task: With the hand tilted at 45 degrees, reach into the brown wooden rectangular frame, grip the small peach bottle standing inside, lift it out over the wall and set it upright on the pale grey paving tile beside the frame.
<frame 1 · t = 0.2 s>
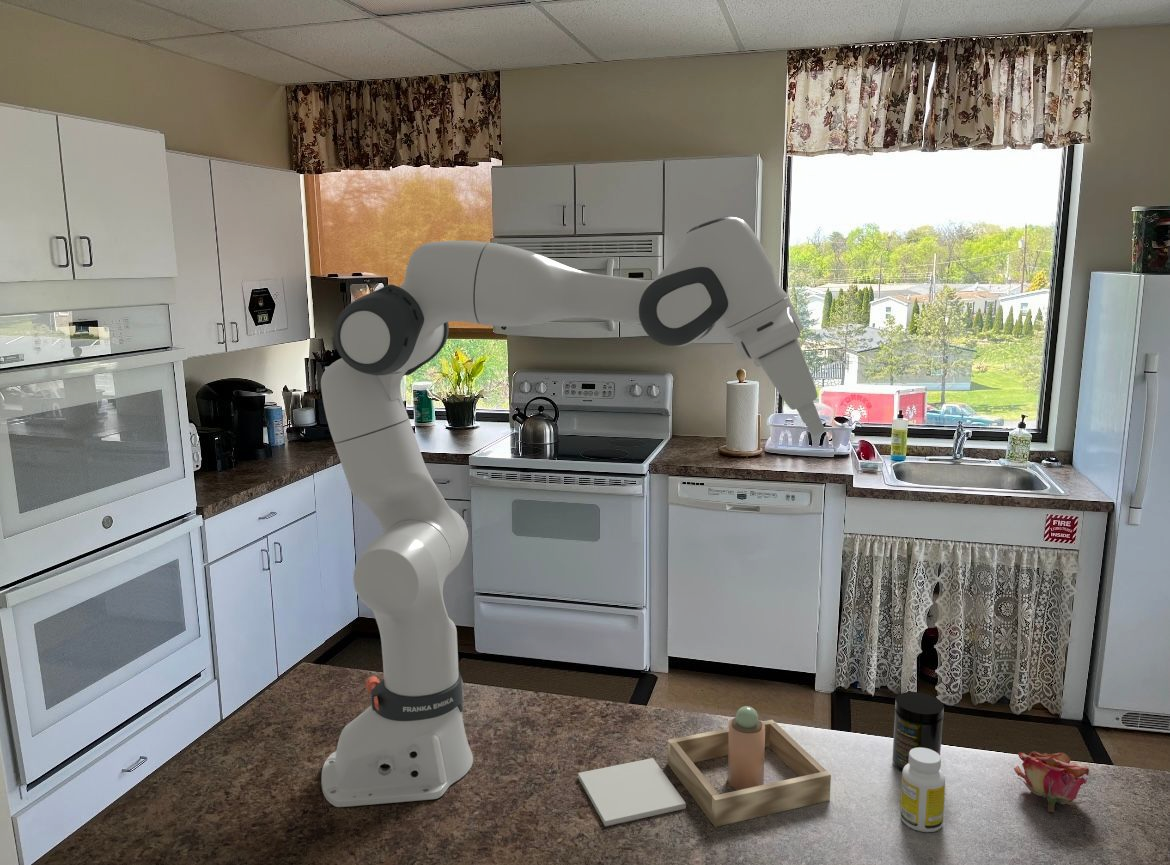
hand: (814, 427, 111), 54 cm above the countertop, tool tilted 30°, fingers open, 8 cm apart
flower: (1048, 801, 120), on the countertop
peach bottle: (746, 744, 124), in the brown wooden rectangular frame
brown wooden rectangular frame: (745, 781, 125), on the countertop
paving tile: (630, 792, 123), on the countertop
supplement container: (915, 767, 129), on the countertop
supplement bottle: (920, 822, 116), on the countertop
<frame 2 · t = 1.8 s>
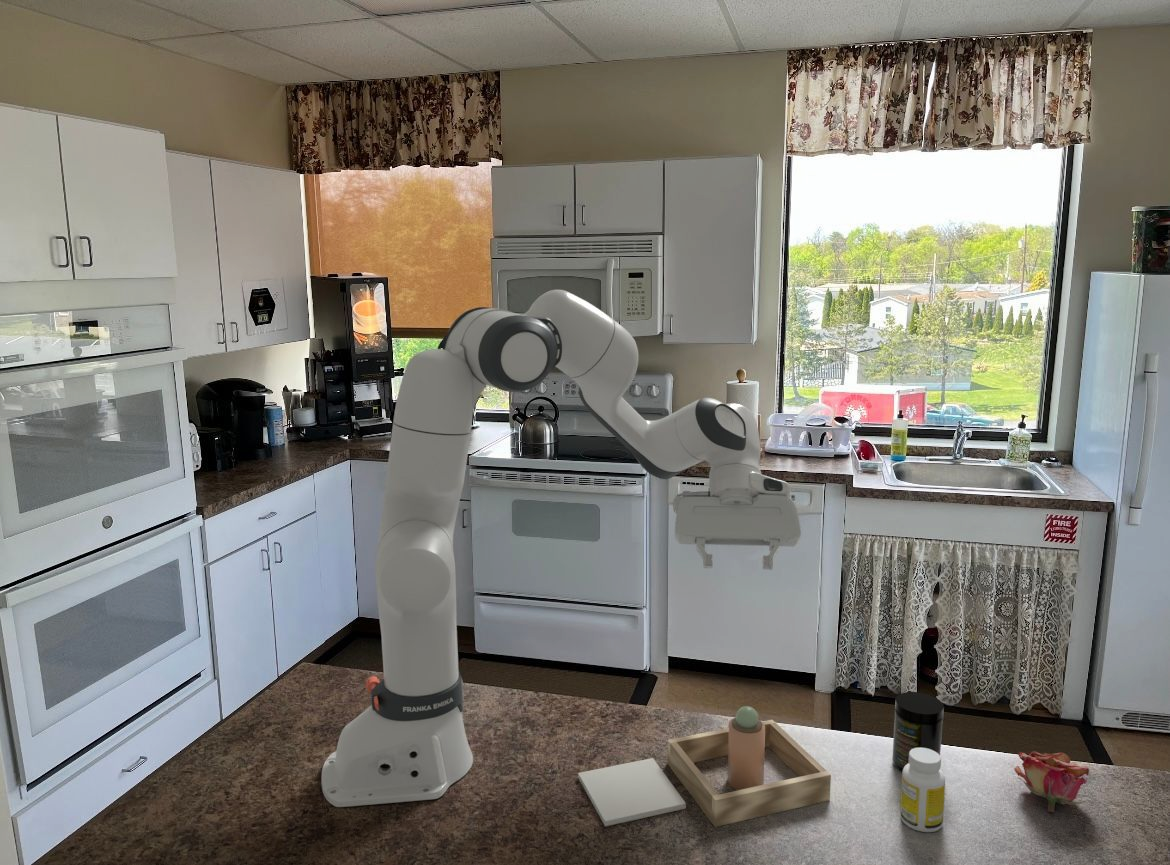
hand: (737, 567, 135), 28 cm above the countertop, tool tilted 45°, fingers open, 8 cm apart
nothing on the countertop moved.
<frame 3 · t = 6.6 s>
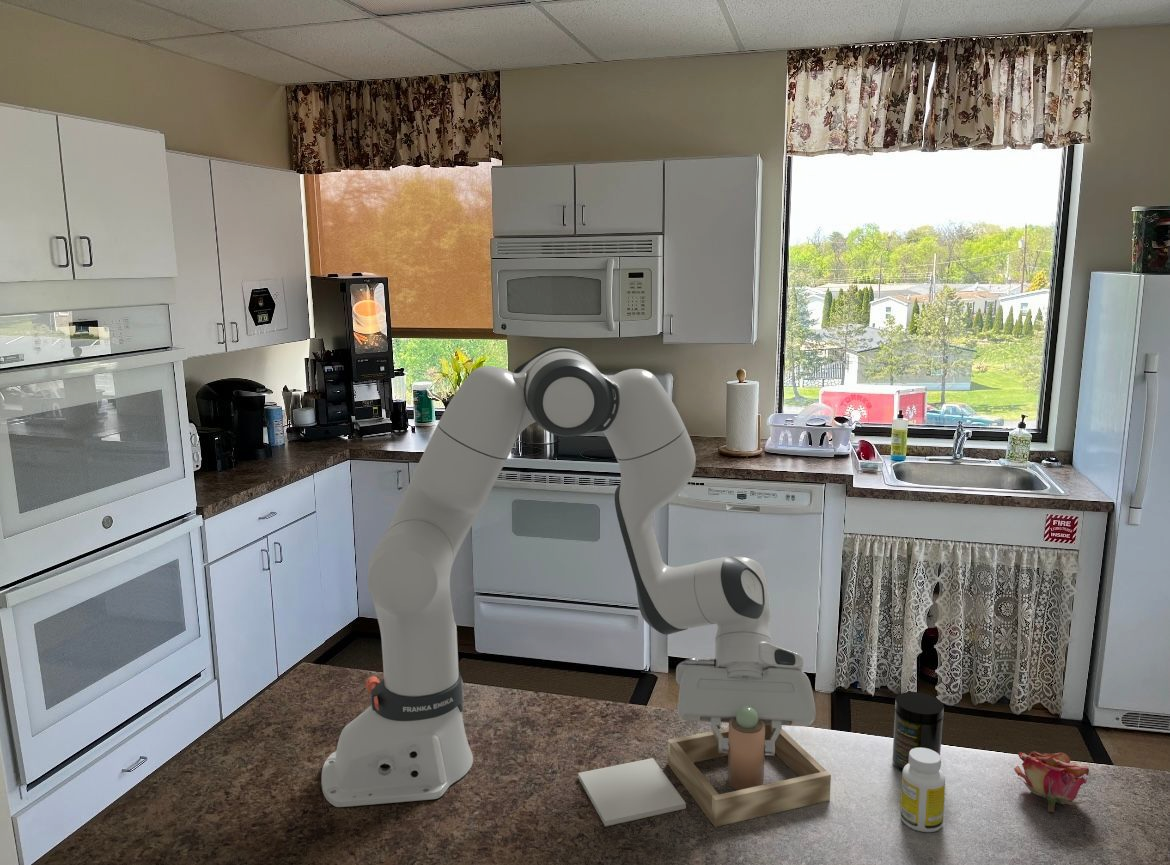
hand: (746, 753, 124), 5 cm above the countertop, tool tilted 45°, fingers closed on peach bottle, 5 cm apart
peach bottle: (746, 744, 124), in the brown wooden rectangular frame, touching gripper
everything else where it was.
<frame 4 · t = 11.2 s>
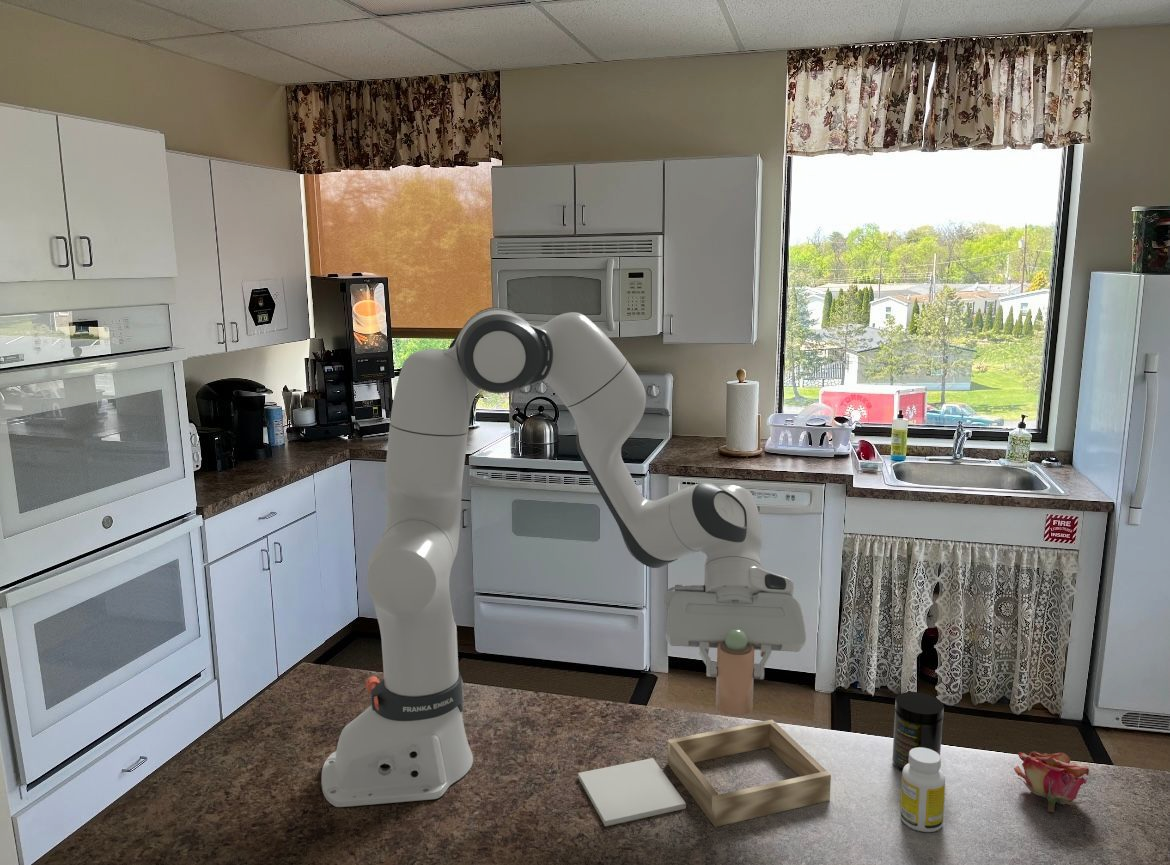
hand: (735, 676, 121), 17 cm above the countertop, tool tilted 45°, fingers closed on peach bottle, 5 cm apart
peach bottle: (735, 668, 122), point 18 cm above the countertop, touching gripper
everything else where it was.
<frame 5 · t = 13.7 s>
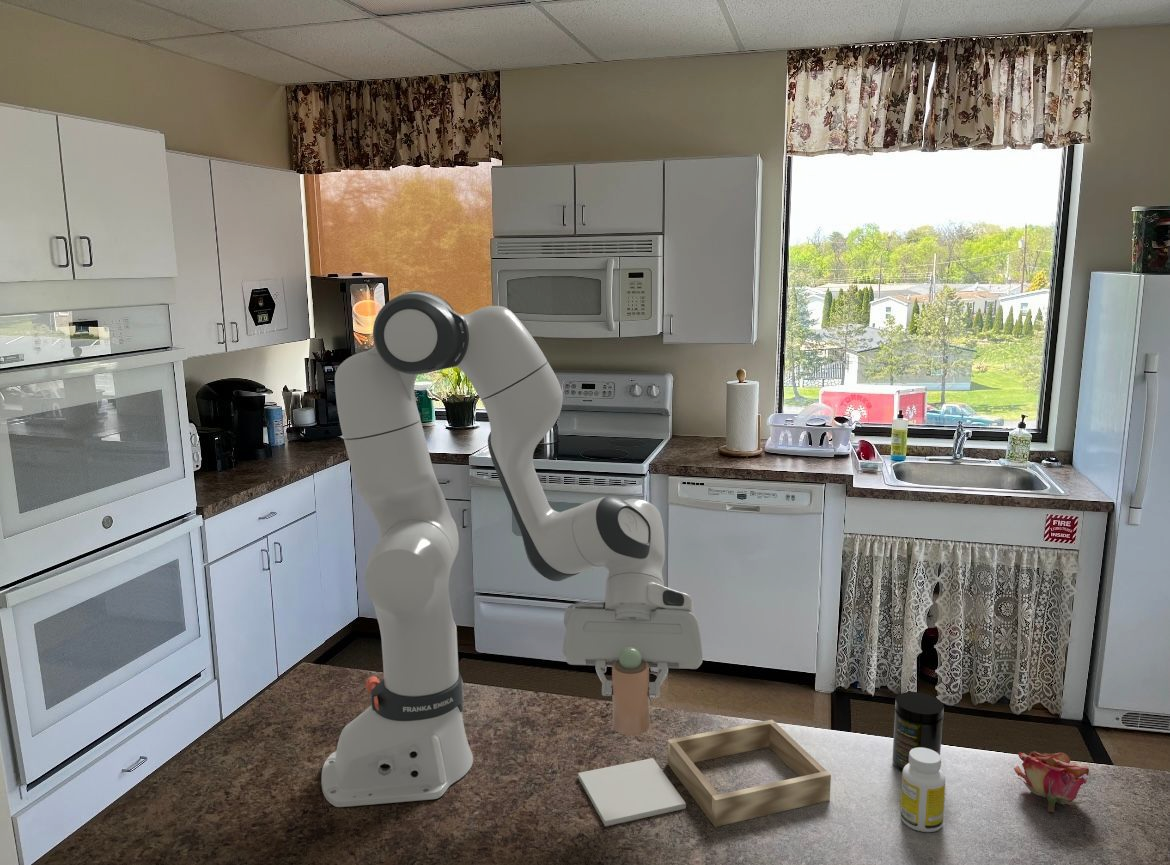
hand: (630, 695, 120), 15 cm above the countertop, tool tilted 45°, fingers closed on peach bottle, 5 cm apart
peach bottle: (630, 687, 120), point 16 cm above the countertop, touching gripper
everything else where it was.
when the fingers open (7 cm above the countertop, at t = 15.9 s): peach bottle drops 1 cm, resting on paving tile.
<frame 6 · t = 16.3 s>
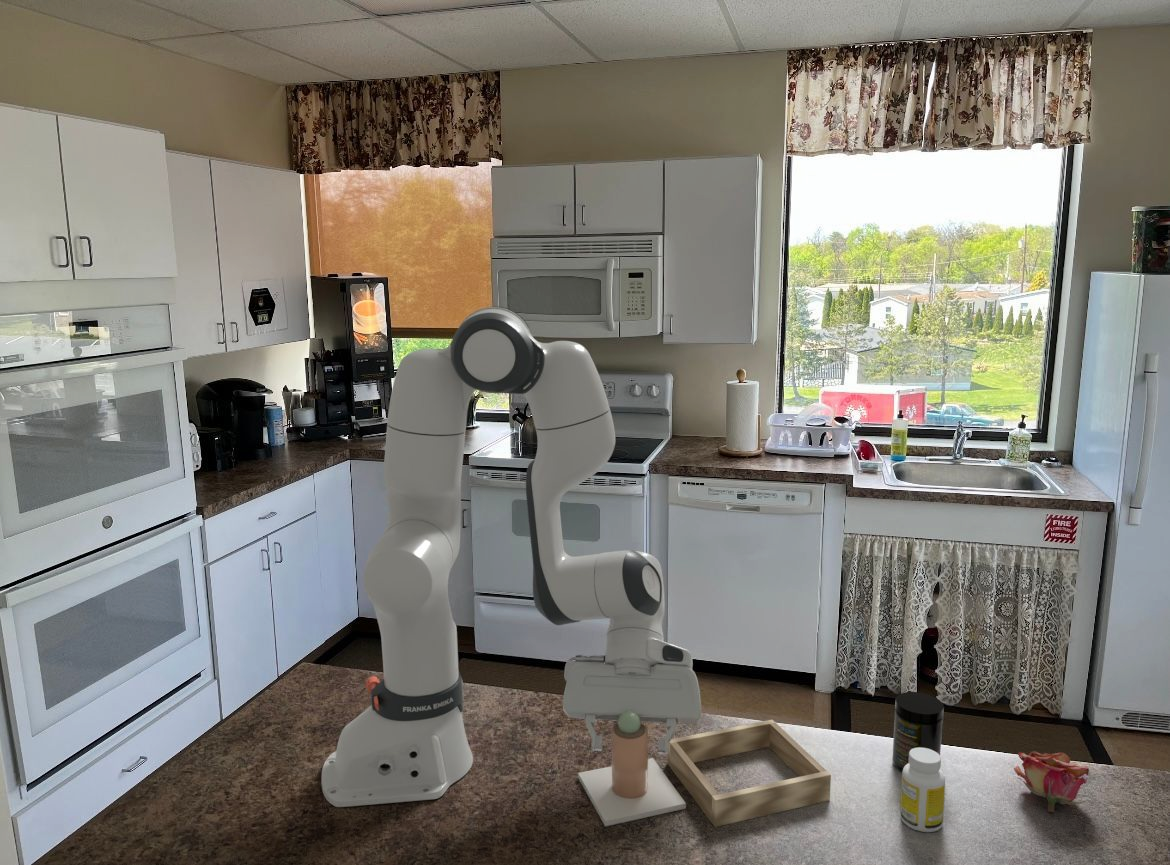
hand: (629, 751, 121), 7 cm above the countertop, tool tilted 45°, fingers open, 8 cm apart
peach bottle: (629, 750, 122), on the paving tile, point 7 cm above the countertop
everything else where it was.
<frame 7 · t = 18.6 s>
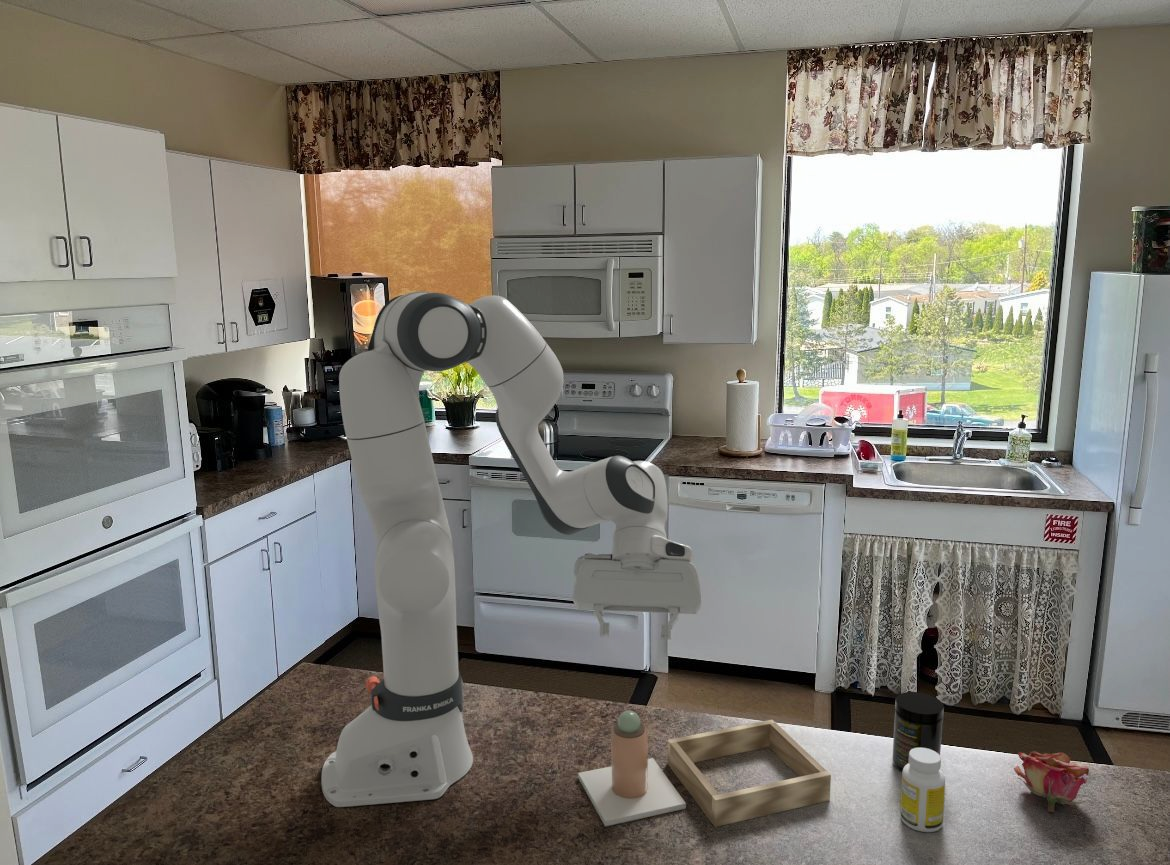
hand: (635, 636, 131), 19 cm above the countertop, tool tilted 45°, fingers open, 8 cm apart
nothing on the countertop moved.
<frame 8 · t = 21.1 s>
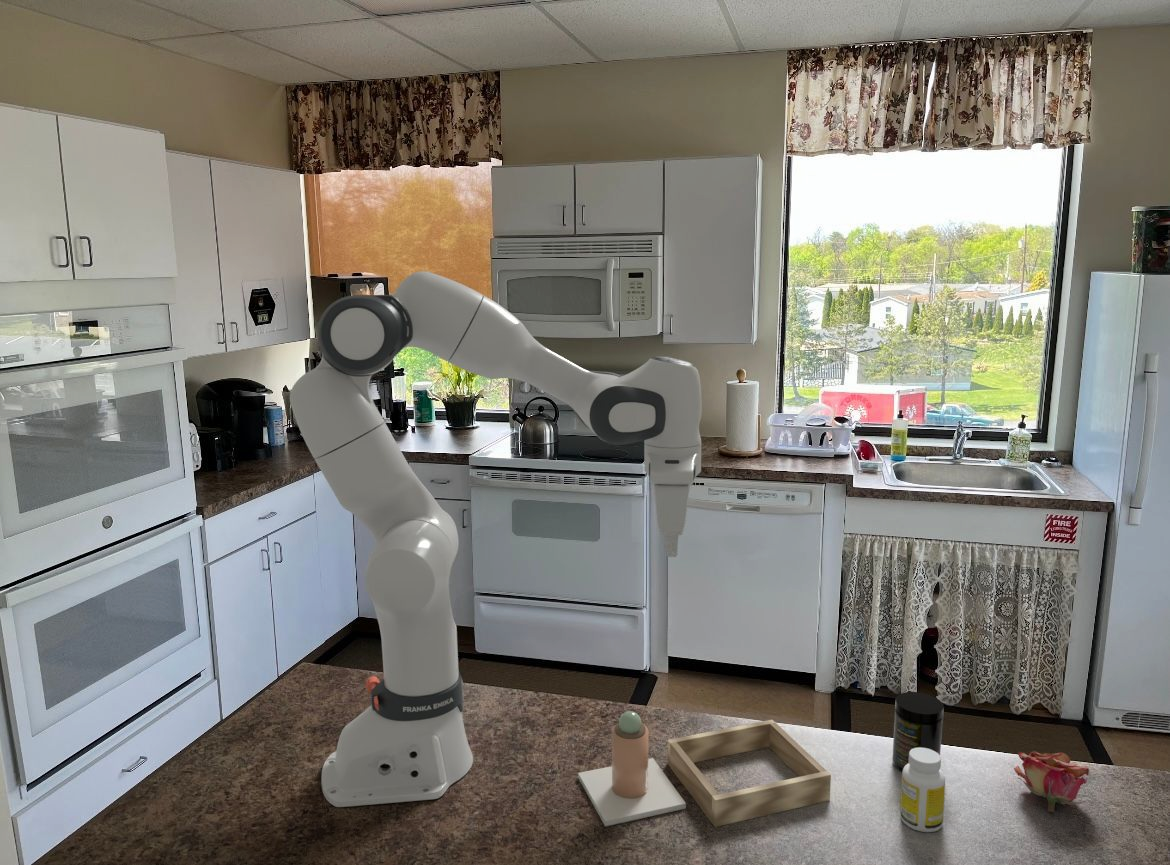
hand: (672, 545, 135), 31 cm above the countertop, tool pointing down, fingers open, 8 cm apart
nothing on the countertop moved.
at the end: peach bottle inside the target area on the paving tile (0.0 cm from its centre), point 6.7 cm above the paving tile's base; peach bottle tilted 1°; the gripper is holding nothing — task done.
